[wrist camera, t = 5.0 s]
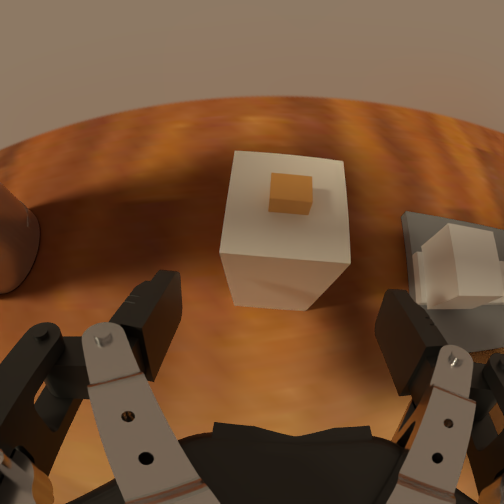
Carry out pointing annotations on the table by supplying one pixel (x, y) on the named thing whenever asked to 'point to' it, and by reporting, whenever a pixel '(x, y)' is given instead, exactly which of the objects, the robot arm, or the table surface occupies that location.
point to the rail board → (456, 319)
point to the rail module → (284, 229)
